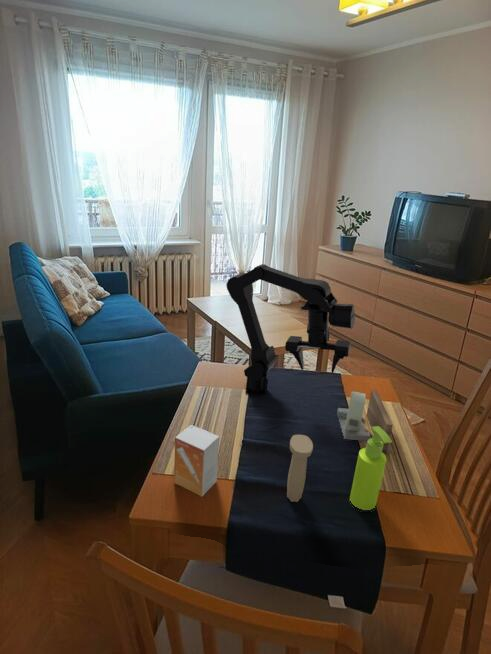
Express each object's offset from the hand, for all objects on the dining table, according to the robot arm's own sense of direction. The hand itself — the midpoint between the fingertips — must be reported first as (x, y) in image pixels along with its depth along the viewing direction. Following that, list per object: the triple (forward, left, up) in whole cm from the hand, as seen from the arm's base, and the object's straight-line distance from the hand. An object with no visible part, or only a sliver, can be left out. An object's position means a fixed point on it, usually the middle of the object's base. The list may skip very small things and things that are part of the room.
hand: (317, 371), depth 135 cm
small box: (-31, -40, -12) cm, 52 cm away
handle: (-8, -42, -12) cm, 44 cm away
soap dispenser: (+8, -42, -12) cm, 44 cm away
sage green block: (+11, -11, -12) cm, 19 cm away
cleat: (+11, -11, -12) cm, 19 cm away
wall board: (+17, -13, -12) cm, 24 cm away
